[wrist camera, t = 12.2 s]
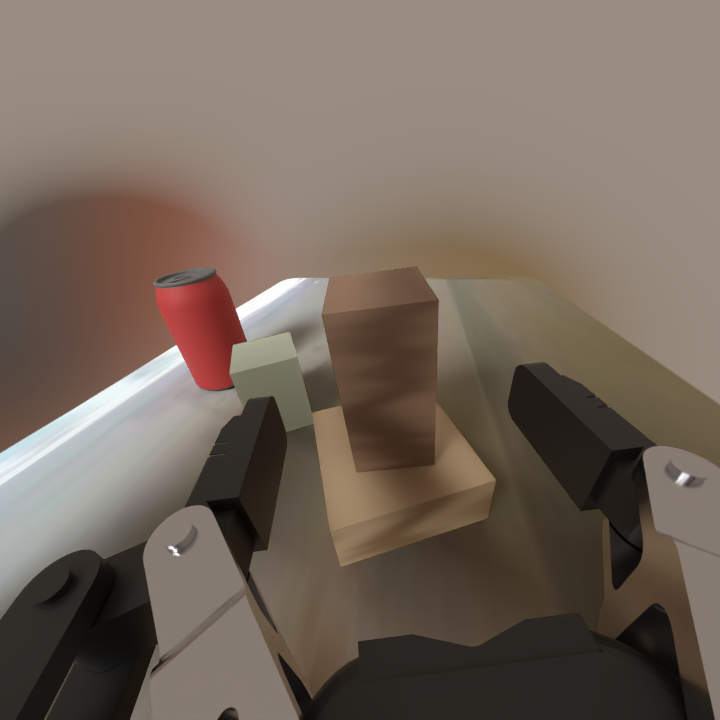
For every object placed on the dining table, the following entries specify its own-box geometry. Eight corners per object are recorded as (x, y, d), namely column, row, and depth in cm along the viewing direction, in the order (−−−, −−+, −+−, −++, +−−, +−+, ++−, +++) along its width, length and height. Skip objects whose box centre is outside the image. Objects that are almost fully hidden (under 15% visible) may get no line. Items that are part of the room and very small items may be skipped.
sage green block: (257, 441, 25) (229, 374, 21) (256, 406, 29) (232, 344, 25) (314, 423, 26) (297, 356, 22) (305, 392, 30) (289, 331, 26)
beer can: (187, 383, 34) (134, 282, 27) (235, 357, 38) (199, 264, 32) (219, 400, 30) (166, 288, 24) (267, 368, 35) (234, 267, 28)
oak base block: (341, 569, 16) (329, 531, 14) (321, 449, 24) (311, 412, 22) (486, 521, 17) (496, 480, 15) (423, 422, 25) (424, 385, 23)
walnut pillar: (356, 472, 17) (321, 314, 11) (355, 416, 20) (329, 278, 15) (434, 464, 16) (438, 299, 11) (419, 410, 20) (416, 266, 15)
